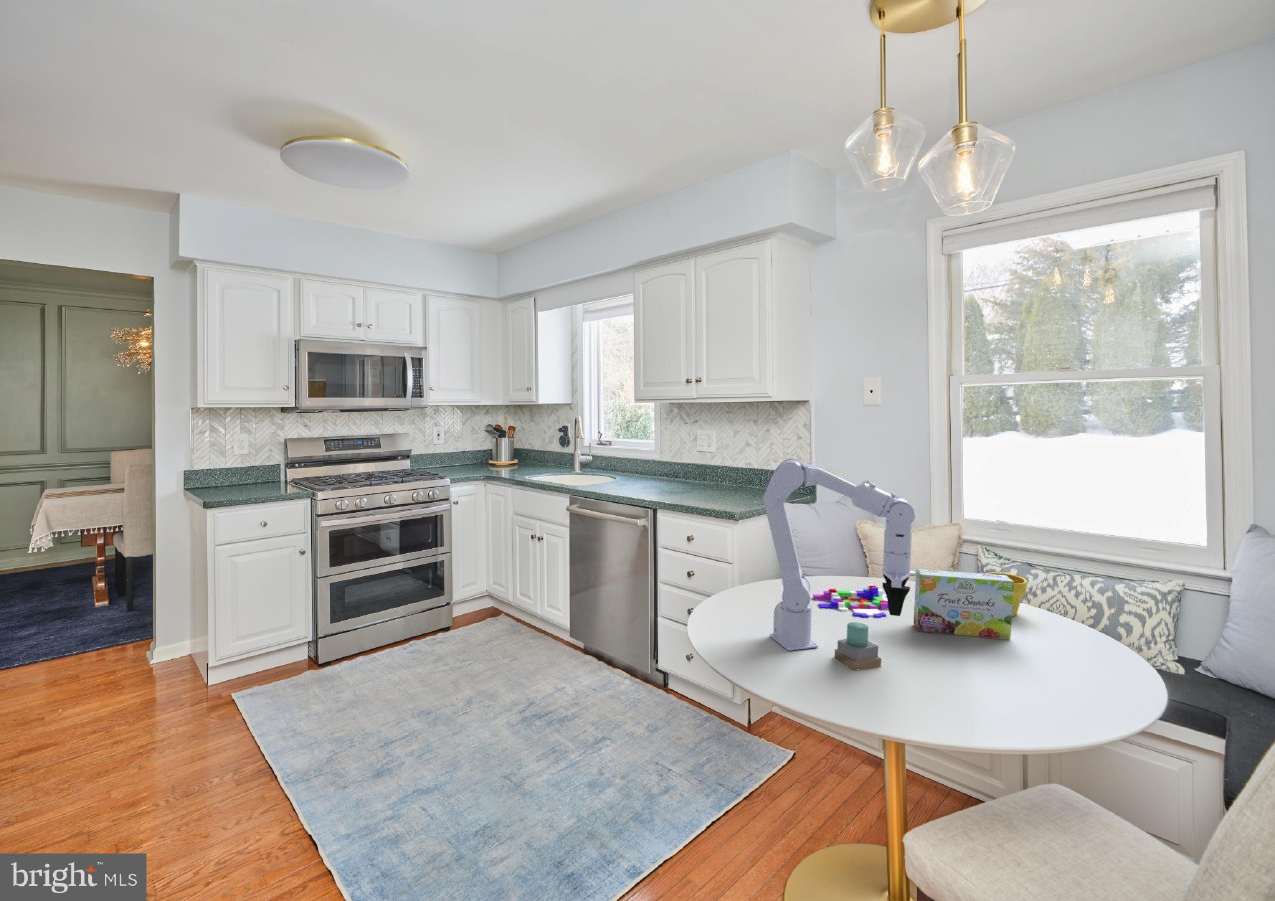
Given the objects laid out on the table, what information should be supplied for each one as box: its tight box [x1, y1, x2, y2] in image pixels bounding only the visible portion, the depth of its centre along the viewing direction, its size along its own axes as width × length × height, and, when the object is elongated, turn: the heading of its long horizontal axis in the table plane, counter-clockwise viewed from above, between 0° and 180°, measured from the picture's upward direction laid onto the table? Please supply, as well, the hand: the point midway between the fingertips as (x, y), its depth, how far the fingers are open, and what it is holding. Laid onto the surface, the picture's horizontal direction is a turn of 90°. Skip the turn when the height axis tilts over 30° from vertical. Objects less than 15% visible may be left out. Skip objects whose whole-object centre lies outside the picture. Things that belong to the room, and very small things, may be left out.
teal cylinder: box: [846, 621, 869, 647], centre depth 137 cm, size 4×4×4 cm
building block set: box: [812, 584, 889, 619], centre depth 175 cm, size 25×20×4 cm
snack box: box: [913, 568, 1014, 641], centre depth 154 cm, size 21×6×15 cm, turn 76°
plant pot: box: [985, 572, 1028, 617], centre depth 169 cm, size 10×10×10 cm
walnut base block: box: [834, 648, 882, 671], centre depth 137 cm, size 7×7×2 cm
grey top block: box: [836, 638, 879, 662], centre depth 137 cm, size 6×6×2 cm
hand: (894, 609), depth 141 cm, fingers open, 7 cm apart
